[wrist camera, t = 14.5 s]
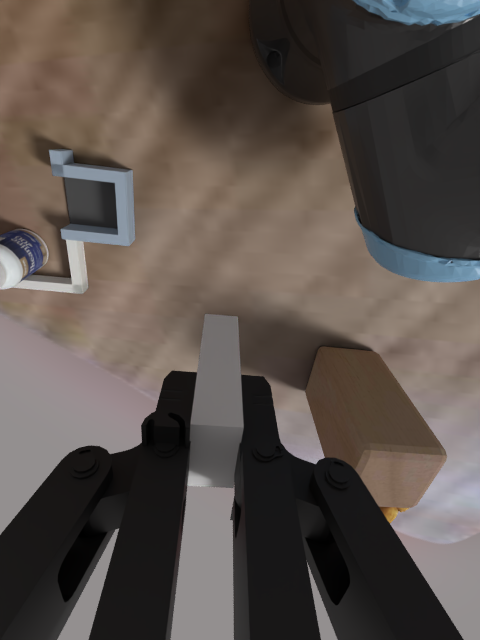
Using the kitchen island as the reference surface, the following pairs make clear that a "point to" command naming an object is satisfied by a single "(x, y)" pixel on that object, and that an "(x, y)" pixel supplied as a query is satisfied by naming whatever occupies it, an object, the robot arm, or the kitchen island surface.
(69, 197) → the pit
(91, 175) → the blue-grey open frame
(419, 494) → the wooden block
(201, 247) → the kitchen island surface
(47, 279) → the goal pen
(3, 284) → the pill bottle
